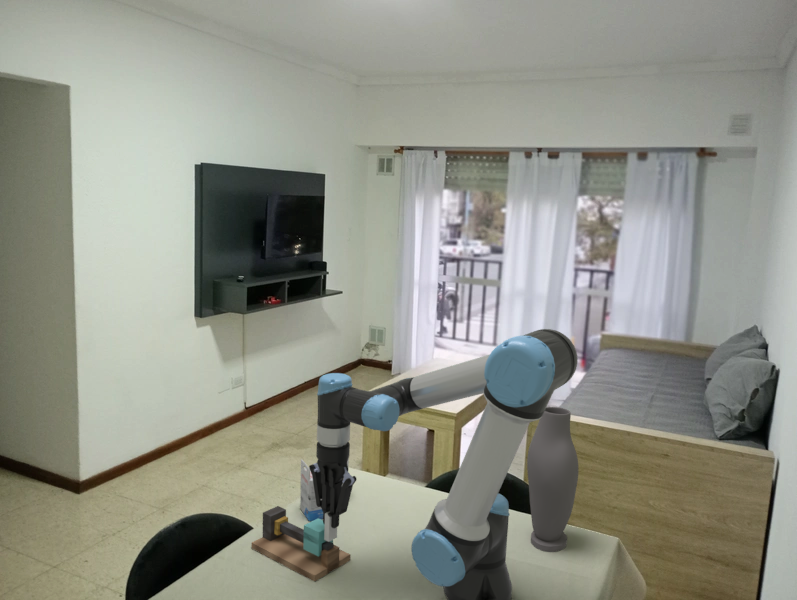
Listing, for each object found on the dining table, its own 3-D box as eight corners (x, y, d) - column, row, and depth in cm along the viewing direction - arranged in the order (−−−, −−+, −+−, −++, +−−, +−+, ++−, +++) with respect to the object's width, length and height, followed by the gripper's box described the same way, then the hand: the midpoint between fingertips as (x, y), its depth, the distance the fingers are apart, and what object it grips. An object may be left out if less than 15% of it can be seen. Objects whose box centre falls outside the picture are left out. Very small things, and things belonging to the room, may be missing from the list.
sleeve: (332, 548, 153) (333, 524, 152) (318, 556, 149) (318, 532, 148) (317, 541, 156) (318, 518, 155) (303, 549, 152) (303, 525, 151)
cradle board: (350, 560, 155) (351, 529, 154) (314, 581, 145) (315, 548, 144) (287, 529, 168) (287, 501, 167) (250, 547, 159) (250, 517, 158)
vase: (571, 558, 159) (581, 421, 155) (518, 548, 163) (527, 414, 159) (574, 535, 171) (584, 407, 167) (525, 526, 175) (533, 401, 171)
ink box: (326, 518, 175) (327, 467, 173) (308, 522, 173) (309, 469, 171) (316, 505, 183) (317, 455, 181) (299, 508, 181) (300, 458, 179)
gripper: (365, 444, 145) (362, 542, 149) (324, 430, 153) (321, 523, 156) (343, 453, 139) (340, 555, 143) (301, 438, 147) (299, 535, 150)
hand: (330, 538), depth 149 cm, fingers closed
